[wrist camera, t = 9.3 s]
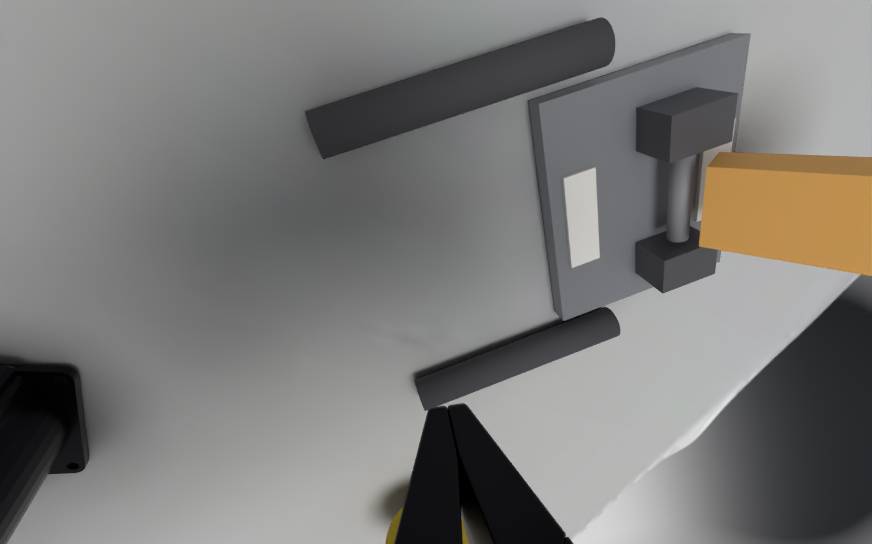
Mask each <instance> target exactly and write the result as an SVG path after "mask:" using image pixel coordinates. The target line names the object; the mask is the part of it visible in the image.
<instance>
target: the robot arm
mask: <svg viewBox="0 0 872 544" xmlns="http://www.w3.org/2000/svg"><path fill="white" fill-rule="evenodd" d="M59 376H60V377H64V378H66V379H62V378H60V377H59ZM88 461H89V456H88V448H87V440H86V432H85V424H84V416H83V408H82V400H81V392H80V383H79V375H78V373H77V371H76V370H74V369H73V368H71V367H67V366H48V365H15V364H0V544H7V542H8V541H9V539H10V537H11V535H12V534H13V532H14V530H15V529H16V527H17V525H18V524H19V522H20V520H21V519H22V517H23V515H24V513H25V512H26V510H27V508H28V507H29V505H30V503H31V502H32V500H33V498H34V497H35V495H36V493H37V491H38V490H39V488H40V486H41V485H42V483H43V481H44V480H45V478H46V476H47V475H48V474H63V473H78V472H81V471H83V470H84V469H85V467H86V465H87V463H88ZM461 516H462V519H461ZM462 520H463V523H464V527H465V531H466V535H467V538H468V542H469V544H573V542H572V541H571V540H570V538H569V537H566V538H565V536H566V534H565V532H564V531H563V530H562V528H561V527H560V526H559V524H558V523H557V522H556V520H555V519H554V518H553V517H552V515H551V514H550V513H549V511H548V510H547V509H546V507H545V506H544V505H543V504H542V502H541V501H540V500H539V498H538V497H537V496H536V494H535V493H534V492H533V491H532V489H531V488H530V487H529V485H528V484H527V483H526V481H525V480H524V479H523V478H522V476H521V475H520V474H519V472H518V471H517V470H516V468H515V467H514V466H513V465H512V463H511V462H510V461H509V459H508V458H507V457H506V455H505V454H504V453H503V451H502V450H501V449H500V448H499V446H498V445H497V444H496V442H495V441H494V440H493V438H492V437H491V436H490V435H489V433H488V432H487V431H486V429H485V428H484V427H483V425H482V424H481V423H480V422H479V420H478V419H477V418H476V416H475V415H474V414H473V412H472V411H471V410H470V409H469V407H468V406H467V405H466V404H463V403H462V404H454V405H449V406H448V408H447V407H446V406H439V407H431V408H430V409H429V410H428V413H427V416H426V420H425V424H424V428H423V432H422V436H421V440H420V444H419V448H418V452H417V456H416V459H415V463H414V467H413V471H412V475H411V479H410V483H409V487H408V491H407V495H406V499H405V502H404V506H403V510H402V514H401V518H400V522H399V526H398V530H397V534H396V538H395V542H394V544H463V539H462Z"/></svg>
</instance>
